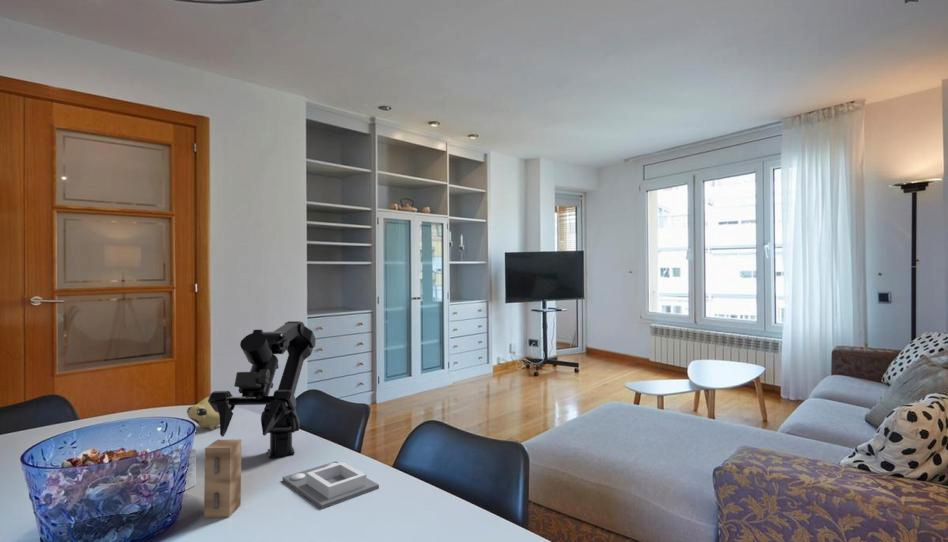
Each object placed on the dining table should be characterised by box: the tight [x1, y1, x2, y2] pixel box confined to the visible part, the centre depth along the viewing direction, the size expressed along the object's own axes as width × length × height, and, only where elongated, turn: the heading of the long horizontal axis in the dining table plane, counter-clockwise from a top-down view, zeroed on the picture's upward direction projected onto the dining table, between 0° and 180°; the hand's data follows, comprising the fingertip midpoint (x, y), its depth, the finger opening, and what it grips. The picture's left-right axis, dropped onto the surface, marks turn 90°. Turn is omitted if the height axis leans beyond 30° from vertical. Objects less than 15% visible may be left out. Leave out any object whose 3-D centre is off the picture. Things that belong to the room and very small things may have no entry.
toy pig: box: [186, 396, 220, 431], centre depth 152 cm, size 10×12×11 cm
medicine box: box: [184, 448, 197, 492], centre depth 108 cm, size 8×4×9 cm, turn 74°
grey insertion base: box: [282, 461, 380, 510], centre depth 109 cm, size 20×14×3 cm
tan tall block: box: [203, 438, 242, 519], centre depth 96 cm, size 6×5×14 cm
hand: (242, 435), depth 105 cm, fingers open, 9 cm apart
